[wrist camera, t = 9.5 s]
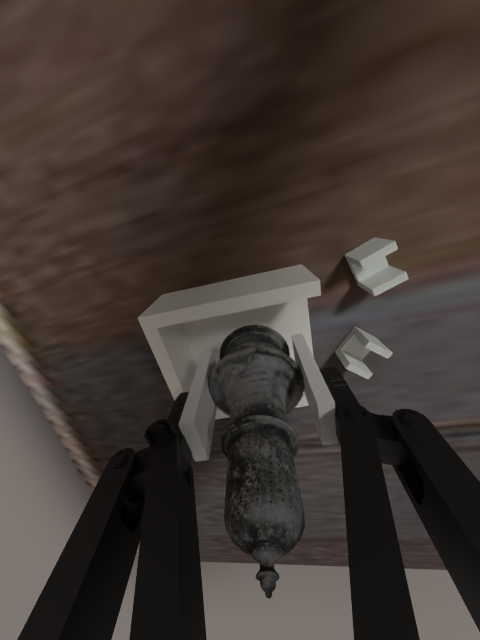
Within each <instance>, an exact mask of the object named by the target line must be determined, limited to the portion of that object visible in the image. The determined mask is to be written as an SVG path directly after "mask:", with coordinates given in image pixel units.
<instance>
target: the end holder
mask: <svg viewBox="0 0 480 640" xmlns="http://www.w3.org/2000/svg"><path fill="white" fill-rule="evenodd" d="M320 295H321V288H320V280H319V279H318V278H317V277H316V276H315V275H314V274H312V273H311V272H310V271H309V270H308V269H307V268H305V267H304V266H303V265H302V264H300V265H296V266H291V267H286V268H282V269H277V270H273V271H268V272H263V273H259V274H254V275H250V276H245V277H240V278H236V279H231V280H227V281H222V282H217V283H213V284H208V285H204V286H199V287H194V288H190V289H185V290H181V291H176V292H171V293H167V294H162V295H161V296H160V297H159V298H158V299H157V300H156V301H155V302H154V303H153V304H152V305H151V306H150V307H148V308H147V309H146V310H145V311H144V312H143V313H142V314H141V315H140V316H139V317H138V320H139V323H140V325H141V327H142V329H143V332H144V334H145V336H146V338H147V340H148V343H149V345H150V347H151V349H152V352H153V354H154V356H155V358H156V360H157V363H158V365H159V367H160V369H161V372H162V374H163V376H164V378H165V381H166V383H167V385H168V387H169V389H170V392H171V394H172V396H173V398H174V401H175V399H176V398H177V397H178V396H179V395H180V393H183V392H189V391H190V388H191V384H192V381H193V378H194V375H195V372H196V369H197V366H198V363H199V360H200V357H201V354H202V352H203V351H208V350H212V352H213V355H214V358H215V361H216V364H217V363H218V362H219V360H220V359H219V357H220V348H221V345H222V343H223V341H224V340H225V338H226V337H227V336H228V335H229V334H230V333H232V332H233V331H234V330H236V329H238V328H241V327H243V326H248V325H263V326H266V327H269V328H272V329H274V330H275V331H277V332H278V333H280V334H281V335H282V337H283V338H284V339H285V340H286V342H287V345H288V347H289V352H290V357H291V358H292V359H293V360H294V361H295V358H294V351H293V344H292V338H291V335H295V334H301V333H302V335H303V337H304V339H305V341H306V343H307V345H308V347H309V349H310V351H311V353H312V356H313V348H312V339H311V330H310V321H309V312H308V303H307V298H310V297H315V296H320ZM313 358H314V357H313ZM303 406H309V404H308V401H307V398H306V395H305V392H303V396H302V398H301V400H300V401H299V403H298V405H297V406H296V407H303ZM296 407H295V408H296ZM228 417H230V416H228V415H226V414H225V413H223V412H222V411H221V410H220V409H219V408H218V407H217V411H216V417H215V419H221V418H228Z"/></svg>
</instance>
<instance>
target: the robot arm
mask: <svg viewBox="0 0 480 640" xmlns="http://www.w3.org/2000/svg"><path fill="white" fill-rule="evenodd" d="M291 338H292V344H293V351H294V358H295V362H296V363H297V365H298V366H299V367H300V369H301V372H302V374H303V378H304V386H305V388H304V392H305V395H306V398H307V401H308V404H309V407H310V410H311V413H312V416H313V419H314V422H315V425H316V428H317V431H318V434H319V437H320V440H321V443H322V445H330V444H338V440H339V442H340V444H341V456H342V471H343V485H344V500H345V514H346V528H347V543H348V557H349V572H350V585H351V600H352V615H353V629H354V640H420V639H419V635H418V630H417V625H416V621H415V616H414V612H413V607H412V603H411V598H410V593H409V589H408V584H407V580H406V575H405V570H404V566H403V561H402V556H401V552H400V547H399V543H398V538H397V533H396V529H395V524H394V520H393V515H392V510H391V506H390V501H389V497H388V492H387V487H386V483H385V478H384V474H383V469H382V464H381V463H384V464H390V465H392V466H393V468H394V470H395V471H396V473H397V475H398V477H399V479H400V481H401V483H402V485H403V487H404V489H405V490H406V492H407V494H408V496H409V498H410V500H411V502H412V504H413V506H414V508H415V509H416V511H417V513H418V515H419V517H420V519H421V521H422V523H423V525H424V527H425V529H426V530H427V532H428V534H429V536H430V538H431V540H432V542H433V544H434V546H435V548H436V549H437V551H438V553H439V555H440V557H441V559H442V561H443V563H444V565H445V567H446V568H447V570H448V572H449V574H450V576H451V578H452V580H453V582H454V584H455V585H456V587H457V589H458V591H459V593H460V595H461V596H462V599H463V601H464V602H465V605H466V606H467V608H468V610H469V612H470V614H471V616H472V618H473V620H474V621H475V624H476V625H477V627H478V629H479V631H480V482H479V481H478V479H477V478H476V477H475V476H474V475H473V473H472V472H471V471H470V470H469V468H468V467H467V466H466V465H465V464H464V462H463V461H462V460H461V459H460V457H459V456H458V455H457V454H456V453H455V451H454V450H453V449H452V448H451V446H450V445H449V444H448V443H447V442H446V440H445V439H444V438H443V437H442V435H441V434H440V433H439V432H438V431H437V429H436V428H435V427H434V426H433V424H432V423H431V422H430V421H429V420H428V419H427V418H426V417H425V416H424V415H423V414H421V413H419V412H417V411H414V410H410V409H400V410H396V411H395V412H394V413H393V415H392V416H385V415H378V414H374V413H371V412H369V411H368V410H367V409H366V408H364V407H362V406H361V405H360V404H359V403H358V401H357V399H356V398H355V396H354V394H353V393H352V391H351V389H350V388H349V386H348V385H347V383H346V381H345V380H344V378H343V376H342V375H341V373H340V372H339V371H338V370H336V369H335V368H333V367H331V368H325V369H319V368H318V366H317V364H316V362H315V360H314V358H313V356H312V353H311V351H310V349H309V347H308V345H307V343H306V341H305V339H304V337H303V335H302V333H301V334H295V335H291ZM215 365H216V361H215V358H214V355H213V352H212V350H208V351H203V352H202V354H201V357H200V360H199V363H198V366H197V369H196V372H195V375H194V378H193V381H192V384H191V388H190V391H189V392H183V393H180V395H179V396H178V397H177V398H176V399H175V402H174V405H173V407H172V410H171V413H170V415H169V418H168V420H167V419H161V420H158V421H156V422H154V423H153V424H152V425H150V426H149V427H148V429H147V430H146V432H145V434H144V436H145V438H146V440H147V441H148V443H149V445H150V447H148V448H146V449H143V450H141V451H139V452H136V453H135V451H134V450H133V449H131V448H126V449H123V450H121V451H119V452H117V453H116V454H115V455H114V456H113V457H112V458H111V459H110V461H109V462H108V464H107V466H106V468H105V470H104V471H103V473H102V475H101V477H100V479H99V481H98V483H97V485H96V487H95V489H94V491H93V493H92V495H91V497H90V499H89V501H88V503H87V505H86V507H85V509H84V511H83V513H82V514H81V516H80V519H79V520H78V523H77V524H76V526H75V528H74V530H73V532H72V534H71V536H70V538H69V540H68V542H67V544H66V546H65V548H64V550H63V552H62V554H61V555H60V557H59V560H58V561H57V563H56V565H55V567H54V569H53V571H52V573H51V575H50V577H49V579H48V581H47V583H46V585H45V587H44V589H43V591H42V593H41V595H40V596H39V598H38V600H37V602H36V604H35V606H34V608H33V610H32V612H31V614H30V616H29V618H28V620H27V622H26V624H25V626H24V628H23V630H22V632H21V634H20V636H19V637H18V639H17V640H111V639H112V635H113V632H114V628H115V625H116V621H117V618H118V614H119V611H120V607H121V604H122V601H123V597H124V593H125V590H126V587H127V583H128V580H129V576H130V573H131V569H132V566H133V562H134V559H135V555H136V552H137V548H138V545H139V542H140V548H139V559H138V567H137V576H136V585H135V595H134V603H133V613H132V622H131V632H130V640H206V628H205V617H204V604H203V591H202V579H201V568H200V567H201V566H200V554H199V541H198V529H197V517H196V504H195V492H194V480H193V469H192V466H191V464H190V462H191V458H192V456H193V458H194V460H195V462H197V461H205V460H209V457H210V450H211V444H212V437H213V430H214V424H215V417H216V411H217V406H216V405H215V403H214V402H213V400H212V397H211V394H210V391H209V378H210V375H211V373H212V370H213V368H214V367H215ZM337 437H338V439H337ZM140 538H141V539H140Z"/></svg>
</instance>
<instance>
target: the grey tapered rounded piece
mask: <svg viewBox="0 0 480 640" xmlns="http://www.w3.org/2000/svg"><path fill="white" fill-rule="evenodd" d="M219 359H220V360H219V362H218V363H217V364H216V365H215V367H214V368H213V370H212V373H211V375H210V378H209V391H210V394H211V397H212V400H213V402H214V403H215V405H216V406H217V407H218V408H219V409H220V410H221V411H222V412H223V413H225V414H226V415H228V416H230V421H229V426H228V427H227V428H226V429H225V430H224V433H223V435H222V438H221V447H222V450H223V453H224V454H225V456H226V457H227V458H228V470H227V483H226V497H225V510H224V520H225V527H226V530H227V532H228V534H229V536H230V538H231V540H232V542H233V543H234V544H235V545H236V546H237V547H238V548H240V549H241V550H242V551H243V552H245V553H246V554H248V555H251V556H252V558H253V559H254V560H256V561H258V562H259V564H260V570H259V572H258V573H257V574H256V579H257V580H259V581H260V585H261V588H262V590H263V591H265V595H266V597H267V598H271V596H272V592H273V591H274V589H275V588H276V581H277V580H278V579H279V574H278V573H277V572H276V571H275V570H274V562H275V561H278V560H279V559H280V558H281V556H283V555H285V554H287V553H289V552H290V551H291V550H292V549H293V548H294V547H295V546H296V545H297V544H298V543H299V541H300V538H301V536H302V533H303V530H304V527H305V525H304V511H303V506H302V501H301V495H300V490H299V485H298V480H297V475H296V470H295V465H294V460H293V458H294V456H295V455H296V453H297V451H298V447H299V442H298V436H297V434H296V432H295V431H294V429H293V428H292V427H291V426H290V425H289V424H288V421H287V416H286V414H288V413H290V412H291V411H292V410H293V409H294V408H295V407H296V406H297V405H298V403H299V401H300V400H301V398H302V396H303V392H304V388H305V386H304V378H303V374H302V372H301V369H300V367H299V366H298V365H297V363H296V362H295V361H294V360H293V359H292V358H291V357H290V352H289V347H288V345H287V342H286V340H285V339H284V338H283V337H282V335H281V334H280V333H278V332H277V331H275V330H274V329H272V328H269V327H266V326H263V325H248V326H243V327H241V328H238V329H236V330H234V331H233V332H232V333H230V334H229V335H228V336H227V337H226V338H225V340H224V341H223V343H222V345H221V348H220V357H219Z"/></svg>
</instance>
